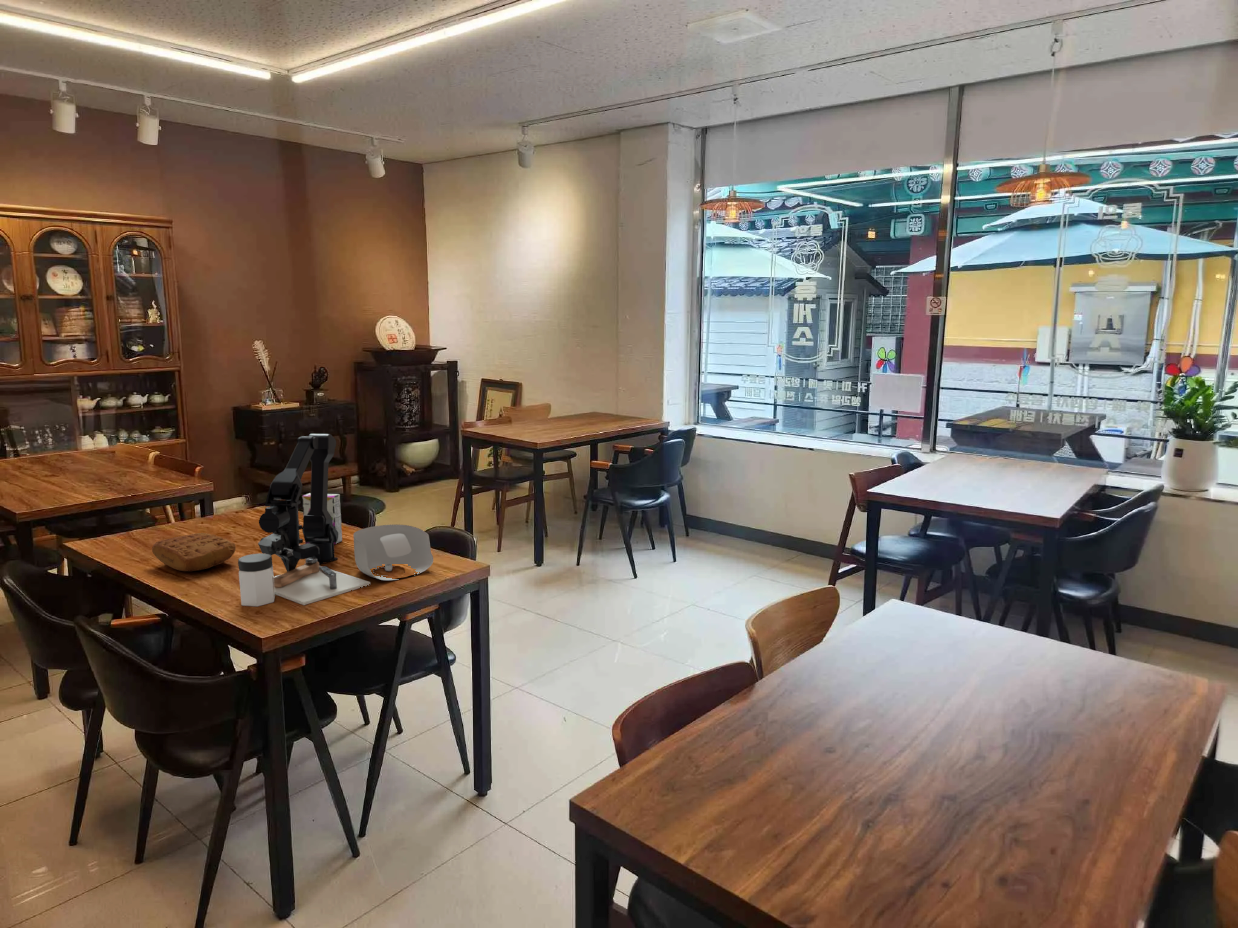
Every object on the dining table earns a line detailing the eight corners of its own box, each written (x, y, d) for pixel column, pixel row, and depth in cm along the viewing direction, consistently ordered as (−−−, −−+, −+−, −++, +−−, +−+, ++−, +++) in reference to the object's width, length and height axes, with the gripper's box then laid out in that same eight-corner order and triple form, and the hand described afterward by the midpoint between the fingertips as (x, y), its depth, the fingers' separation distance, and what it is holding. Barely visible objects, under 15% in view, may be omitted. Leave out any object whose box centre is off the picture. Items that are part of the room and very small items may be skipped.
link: (310, 568, 234) (310, 560, 233) (322, 569, 232) (321, 561, 232) (270, 586, 217) (269, 578, 217) (282, 588, 216) (281, 579, 216)
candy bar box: (304, 543, 263) (301, 495, 260) (311, 539, 268) (308, 492, 265) (336, 544, 262) (333, 496, 259) (343, 540, 267) (340, 493, 264)
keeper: (315, 569, 233) (314, 556, 233) (342, 587, 218) (341, 573, 217) (304, 571, 231) (303, 558, 231) (330, 590, 216) (329, 575, 215)
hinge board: (317, 567, 238) (317, 564, 238) (370, 584, 223) (370, 581, 223) (251, 585, 222) (251, 582, 222) (303, 605, 207) (303, 602, 206)
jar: (267, 593, 215) (264, 551, 213) (282, 600, 210) (279, 556, 208) (234, 602, 209) (230, 558, 207) (248, 609, 203) (245, 564, 201)
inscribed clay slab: (149, 565, 239) (147, 540, 238) (206, 552, 253) (203, 528, 252) (186, 579, 227) (183, 552, 225) (243, 564, 240) (241, 539, 239)
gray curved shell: (404, 557, 249) (402, 521, 247) (435, 571, 235) (434, 533, 233) (343, 570, 235) (340, 532, 233) (372, 586, 222) (370, 545, 220)
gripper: (241, 523, 220) (244, 576, 223) (285, 535, 211) (288, 590, 214) (275, 515, 230) (278, 566, 233) (319, 525, 221) (321, 578, 224)
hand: (290, 575), depth 226 cm, fingers closed
